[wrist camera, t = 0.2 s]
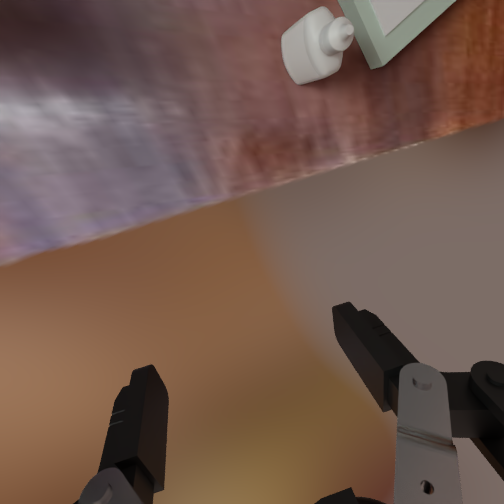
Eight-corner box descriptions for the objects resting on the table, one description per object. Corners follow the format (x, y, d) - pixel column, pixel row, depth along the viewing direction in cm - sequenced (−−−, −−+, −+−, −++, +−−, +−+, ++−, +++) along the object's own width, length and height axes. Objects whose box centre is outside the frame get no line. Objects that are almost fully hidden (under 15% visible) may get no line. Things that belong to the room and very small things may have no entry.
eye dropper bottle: (276, 83, 35) (319, 67, 24) (281, 25, 32) (331, -21, 22) (310, 87, 36) (365, 73, 25) (317, 31, 33) (382, -10, 23)
